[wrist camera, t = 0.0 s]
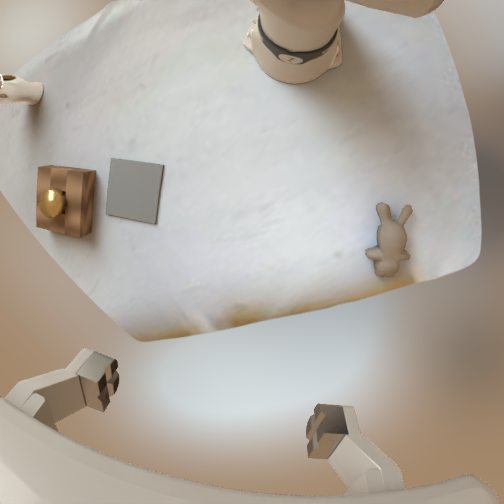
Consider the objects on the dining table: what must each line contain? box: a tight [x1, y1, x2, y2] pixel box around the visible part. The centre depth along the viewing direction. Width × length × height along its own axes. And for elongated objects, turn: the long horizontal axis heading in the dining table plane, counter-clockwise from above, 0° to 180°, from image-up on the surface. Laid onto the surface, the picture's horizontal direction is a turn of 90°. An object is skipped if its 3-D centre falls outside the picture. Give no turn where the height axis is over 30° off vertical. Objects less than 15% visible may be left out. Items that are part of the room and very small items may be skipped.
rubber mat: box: [106, 158, 164, 224], centre depth 57 cm, size 12×12×1 cm
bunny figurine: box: [365, 203, 412, 276], centre depth 54 cm, size 10×5×15 cm
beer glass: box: [0, 75, 43, 105], centre depth 43 cm, size 7×7×15 cm
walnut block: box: [36, 165, 96, 238], centre depth 56 cm, size 14×14×5 cm
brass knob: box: [39, 188, 67, 218], centre depth 54 cm, size 6×6×8 cm
